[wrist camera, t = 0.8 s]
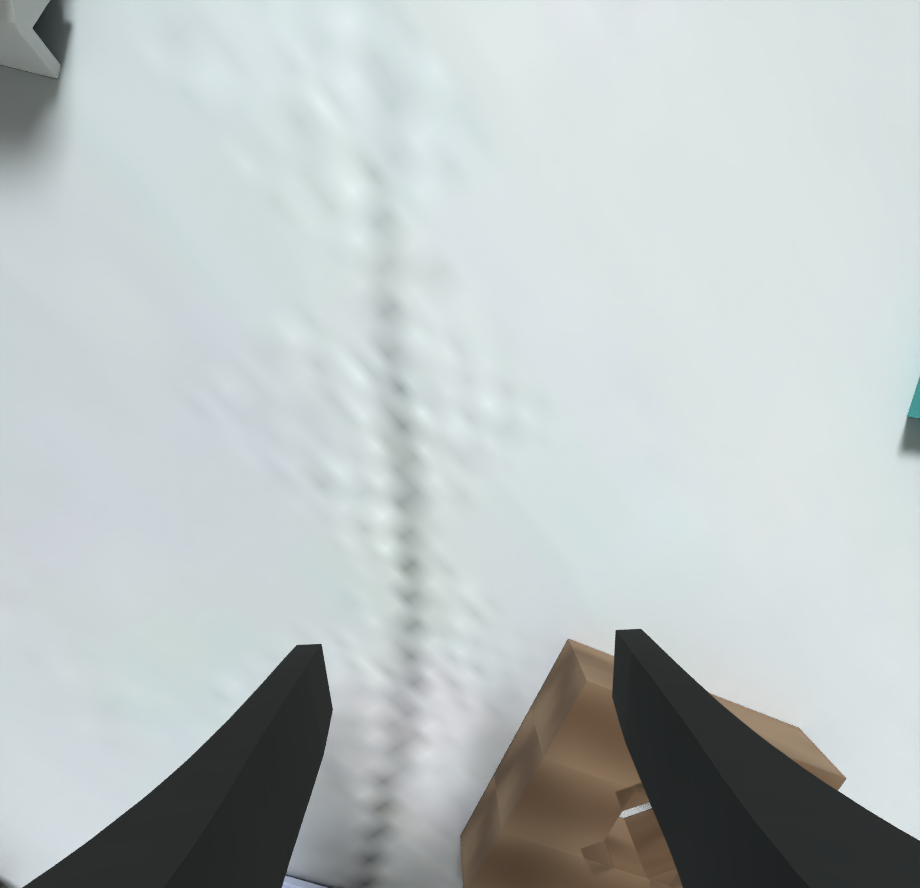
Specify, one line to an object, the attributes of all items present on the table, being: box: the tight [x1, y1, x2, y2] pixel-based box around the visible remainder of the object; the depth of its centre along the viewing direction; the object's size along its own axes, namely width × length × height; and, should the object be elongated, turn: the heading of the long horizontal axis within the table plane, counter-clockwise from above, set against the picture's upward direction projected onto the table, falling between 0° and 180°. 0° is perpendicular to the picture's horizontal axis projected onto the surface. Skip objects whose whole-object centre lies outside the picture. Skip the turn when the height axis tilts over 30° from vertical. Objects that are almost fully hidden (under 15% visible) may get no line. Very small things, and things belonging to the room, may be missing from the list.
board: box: [460, 639, 846, 888], centre depth 24 cm, size 13×14×3 cm
